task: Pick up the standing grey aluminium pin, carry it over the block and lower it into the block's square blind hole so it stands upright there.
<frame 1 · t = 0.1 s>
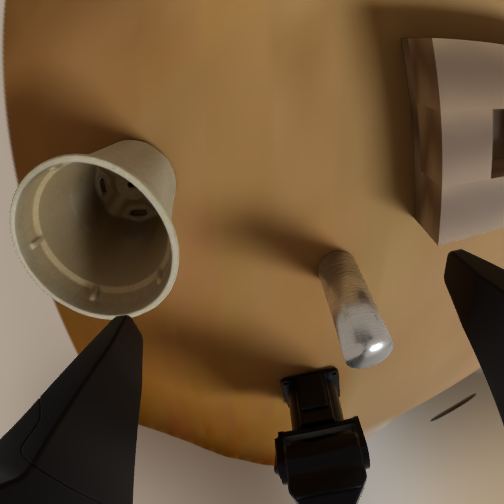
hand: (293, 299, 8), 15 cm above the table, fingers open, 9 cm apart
flower pot: (133, 181, 21), on the table
bore block: (483, 127, 19), on the table
pin: (336, 267, 26), on the table
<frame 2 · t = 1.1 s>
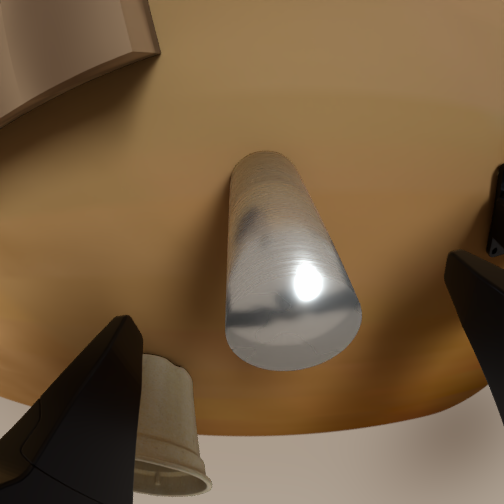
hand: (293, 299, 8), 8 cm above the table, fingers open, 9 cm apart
flower pot: (154, 375, 23), on the table
pin: (265, 183, 15), on the table
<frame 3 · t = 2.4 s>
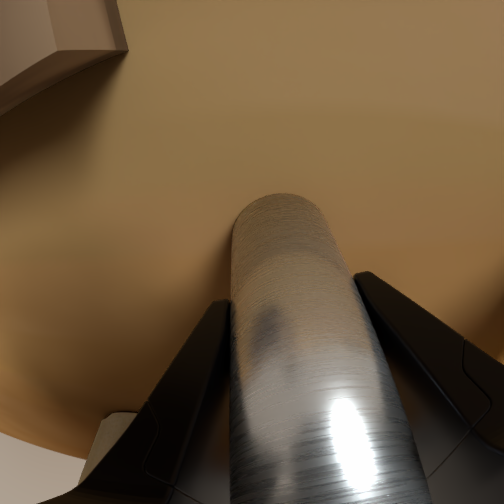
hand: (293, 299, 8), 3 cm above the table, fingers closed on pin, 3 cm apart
flower pot: (147, 429, 19), on the table
pin: (280, 237, 11), on the table, touching gripper
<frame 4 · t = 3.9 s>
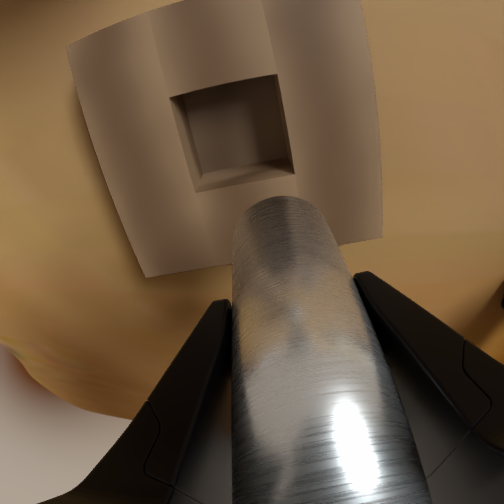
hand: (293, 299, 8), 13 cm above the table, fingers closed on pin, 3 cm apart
bore block: (236, 120, 18), on the table
pin: (281, 240, 11), point 10 cm above the table, touching gripper
when the fingers open (4 cm above the table, at t = 5.6 s): pin stays where it is, resting on bore block.
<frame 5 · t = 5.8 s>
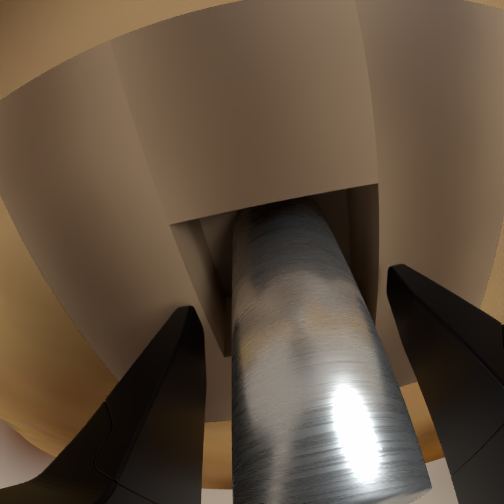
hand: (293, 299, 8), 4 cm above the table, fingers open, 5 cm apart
bore block: (275, 217, 12), on the table
pin: (279, 231, 11), point 1 cm above the table, touching bore block
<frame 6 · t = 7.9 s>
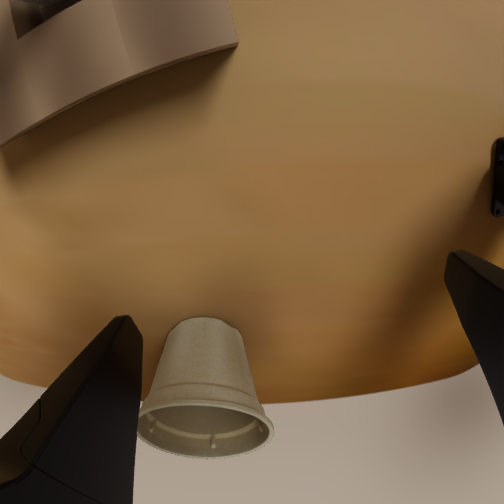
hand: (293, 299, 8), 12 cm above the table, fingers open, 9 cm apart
flower pot: (206, 340, 26), on the table
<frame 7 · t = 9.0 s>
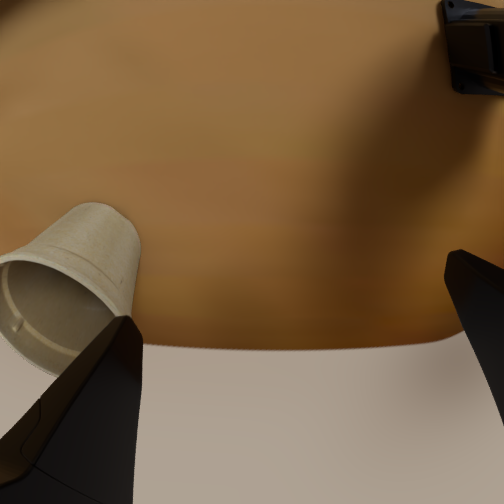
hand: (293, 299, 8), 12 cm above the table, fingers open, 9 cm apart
flower pot: (102, 240, 21), on the table
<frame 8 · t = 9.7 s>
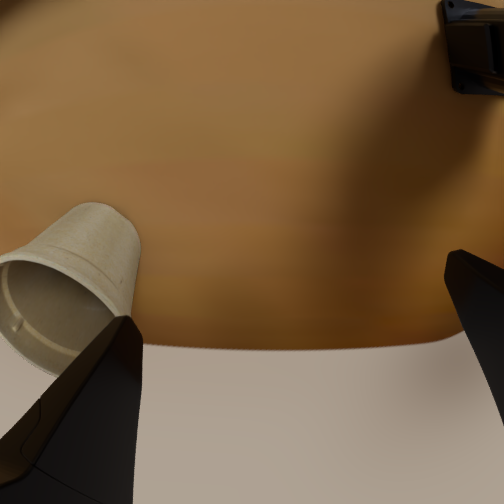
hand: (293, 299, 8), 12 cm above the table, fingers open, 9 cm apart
flower pot: (102, 240, 21), on the table
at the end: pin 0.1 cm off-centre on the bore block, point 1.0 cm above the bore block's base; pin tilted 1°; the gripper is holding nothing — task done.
